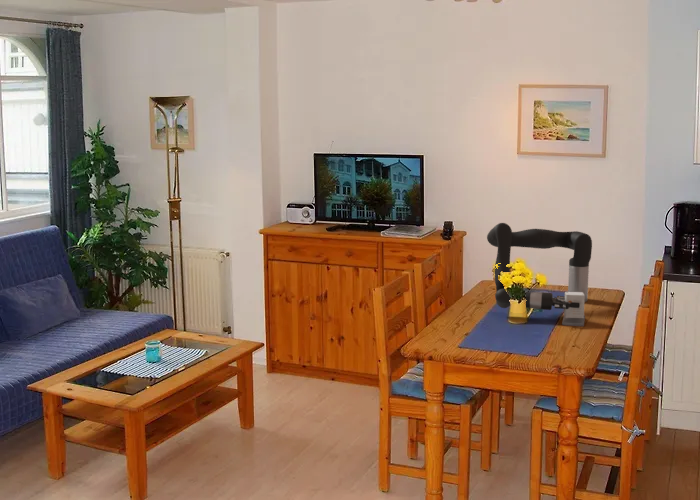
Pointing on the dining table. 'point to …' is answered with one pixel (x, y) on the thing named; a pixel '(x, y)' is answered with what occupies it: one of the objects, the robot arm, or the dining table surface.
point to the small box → (577, 298)
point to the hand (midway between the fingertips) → (579, 303)
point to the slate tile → (573, 321)
